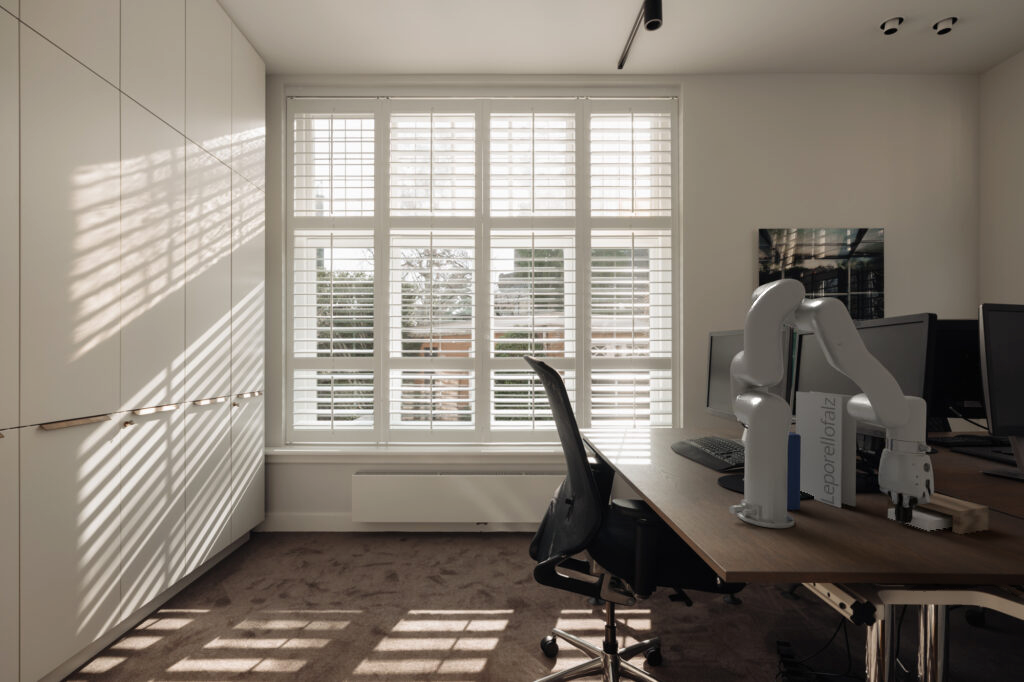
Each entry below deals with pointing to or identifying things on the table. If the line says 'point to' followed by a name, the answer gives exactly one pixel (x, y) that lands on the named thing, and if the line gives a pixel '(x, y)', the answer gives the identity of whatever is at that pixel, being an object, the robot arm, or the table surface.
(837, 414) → the brochure
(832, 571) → the table surface
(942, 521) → the white sponge pad
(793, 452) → the electronic device
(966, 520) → the overhang shelf
